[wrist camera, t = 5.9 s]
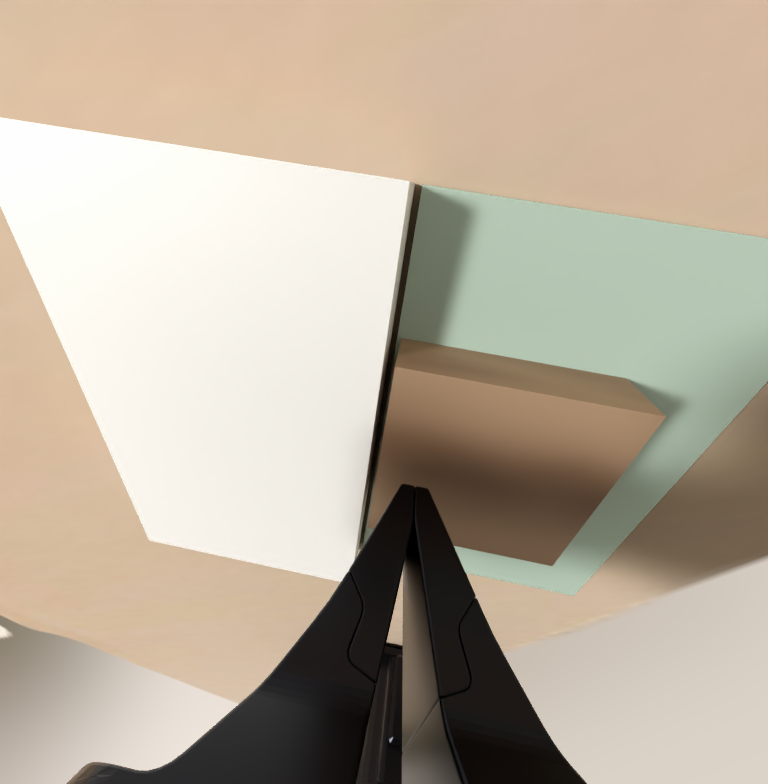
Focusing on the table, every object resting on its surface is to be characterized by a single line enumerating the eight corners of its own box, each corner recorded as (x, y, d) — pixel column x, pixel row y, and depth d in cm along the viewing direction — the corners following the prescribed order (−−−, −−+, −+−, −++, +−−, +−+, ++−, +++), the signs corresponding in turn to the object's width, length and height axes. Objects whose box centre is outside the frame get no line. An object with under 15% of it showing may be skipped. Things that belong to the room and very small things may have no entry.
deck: (359, 545, 17) (350, 584, 15) (177, 506, 17) (149, 540, 16) (415, 183, 8) (409, 181, 7) (50, 126, 9) (-42, 111, 7)
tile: (537, 520, 14) (552, 566, 12) (375, 487, 14) (367, 527, 12) (627, 378, 10) (666, 416, 8) (401, 337, 10) (395, 366, 8)
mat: (571, 589, 16) (573, 595, 16) (363, 545, 17) (362, 551, 17) (866, 253, 8) (881, 255, 7) (423, 184, 8) (422, 184, 8)
